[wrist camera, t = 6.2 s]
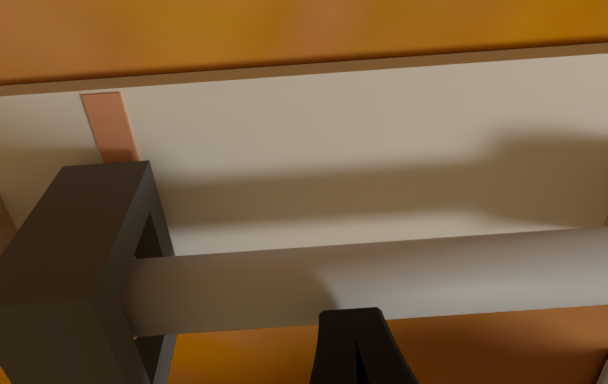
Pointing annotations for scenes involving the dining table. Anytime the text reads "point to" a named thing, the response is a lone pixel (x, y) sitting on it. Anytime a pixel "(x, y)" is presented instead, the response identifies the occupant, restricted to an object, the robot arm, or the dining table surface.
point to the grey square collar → (83, 280)
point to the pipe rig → (341, 183)
